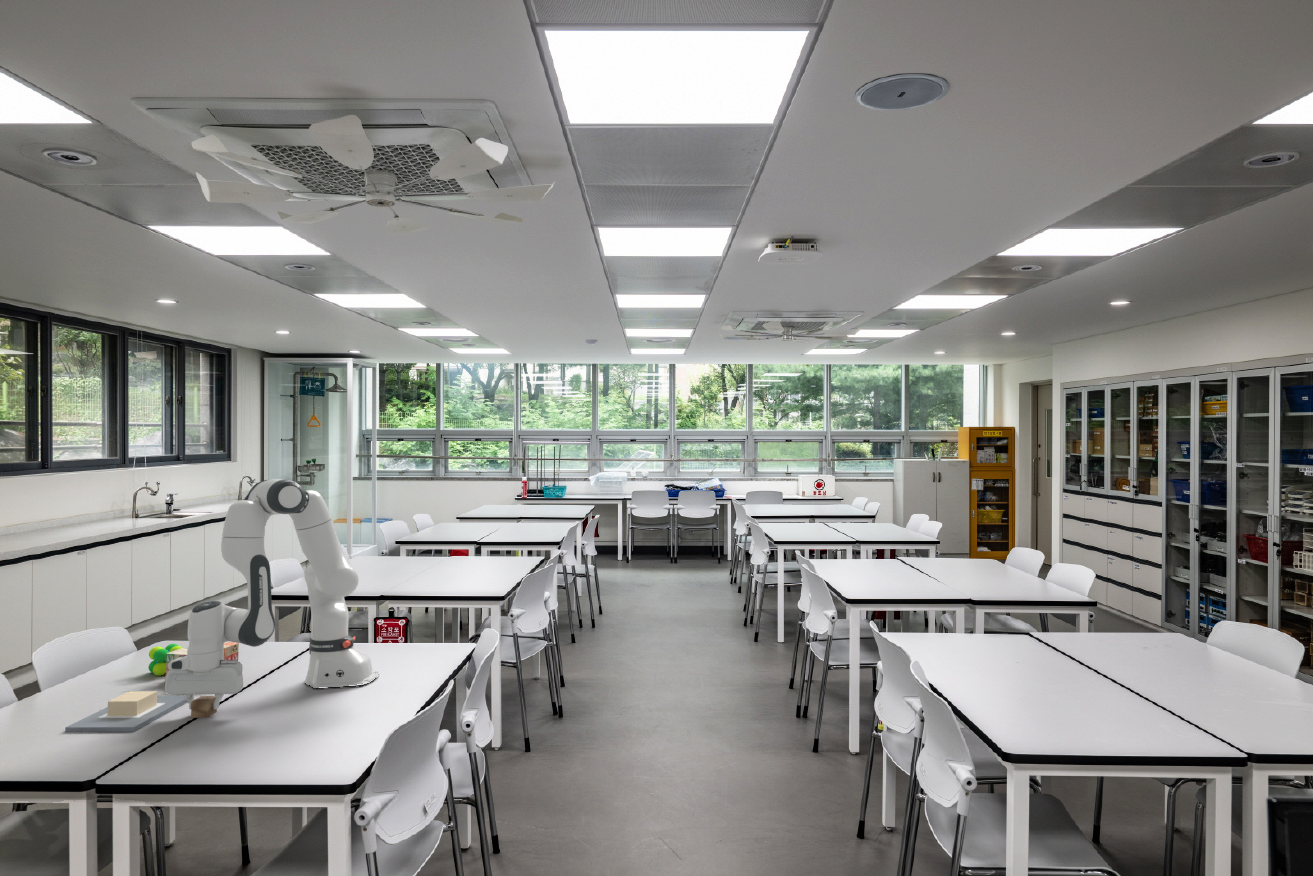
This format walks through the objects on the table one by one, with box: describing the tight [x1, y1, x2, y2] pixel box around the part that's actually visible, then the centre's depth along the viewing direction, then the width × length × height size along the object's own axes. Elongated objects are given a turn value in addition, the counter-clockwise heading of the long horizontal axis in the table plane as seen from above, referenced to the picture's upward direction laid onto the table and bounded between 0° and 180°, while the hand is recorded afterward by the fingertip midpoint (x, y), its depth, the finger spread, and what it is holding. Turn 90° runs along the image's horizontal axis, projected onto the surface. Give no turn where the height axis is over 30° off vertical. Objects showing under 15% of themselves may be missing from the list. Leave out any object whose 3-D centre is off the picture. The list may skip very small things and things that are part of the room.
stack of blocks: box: [165, 641, 240, 676], centre depth 225 cm, size 21×6×12 cm, turn 82°
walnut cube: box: [190, 695, 218, 719], centre depth 196 cm, size 4×4×4 cm
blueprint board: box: [64, 690, 188, 733], centre depth 195 cm, size 18×24×5 cm
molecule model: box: [148, 643, 184, 677], centre depth 232 cm, size 9×9×9 cm
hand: (204, 708), depth 196 cm, fingers closed on walnut cube, 4 cm apart
